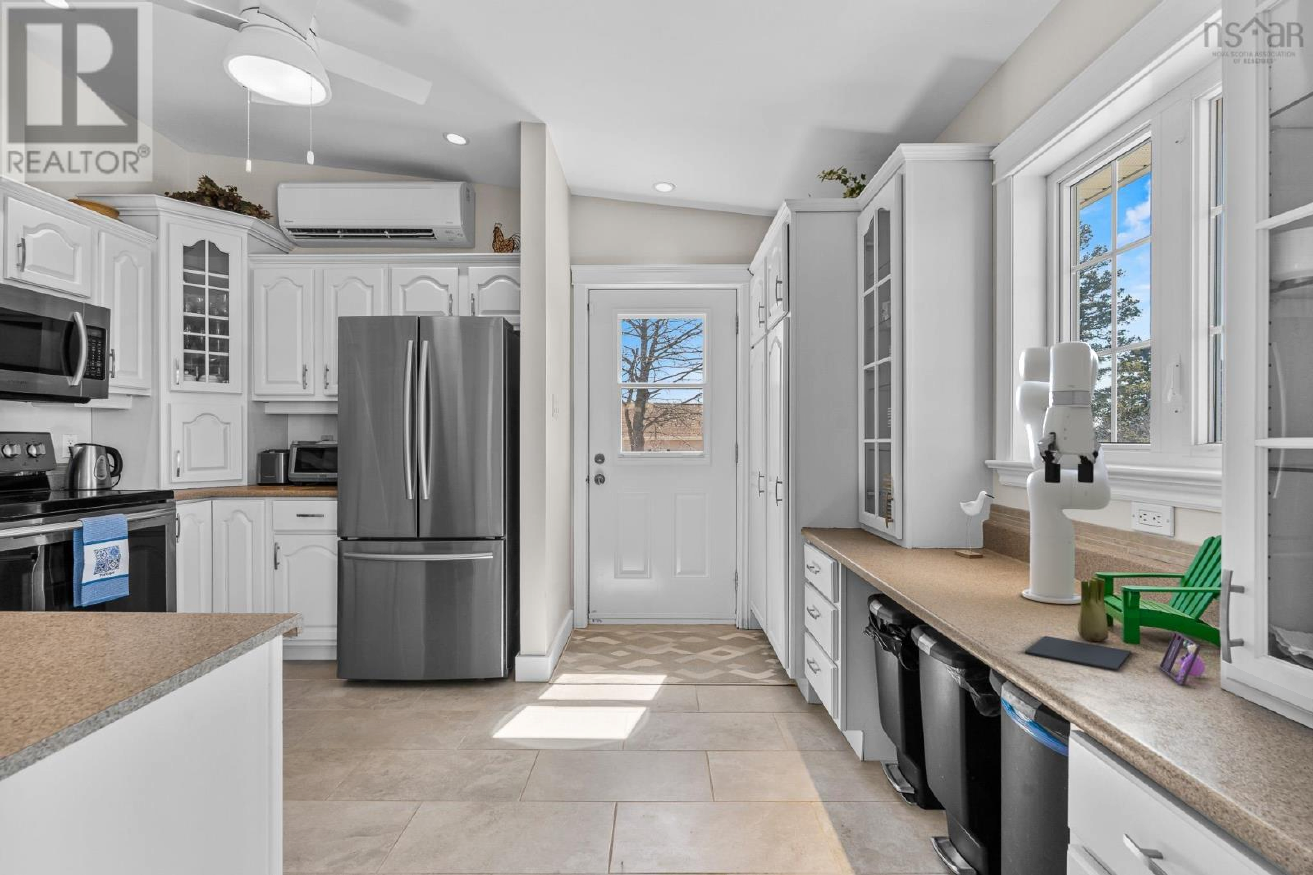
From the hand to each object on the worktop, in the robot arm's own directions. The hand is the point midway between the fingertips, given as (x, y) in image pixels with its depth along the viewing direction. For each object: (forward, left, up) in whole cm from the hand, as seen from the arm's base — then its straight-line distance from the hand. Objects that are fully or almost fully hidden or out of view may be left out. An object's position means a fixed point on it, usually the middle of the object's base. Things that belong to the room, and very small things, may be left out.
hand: (1069, 482), depth 148 cm
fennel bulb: (+10, +6, -30) cm, 32 cm away
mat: (+22, +6, -30) cm, 38 cm away
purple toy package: (+25, +22, -30) cm, 45 cm away
